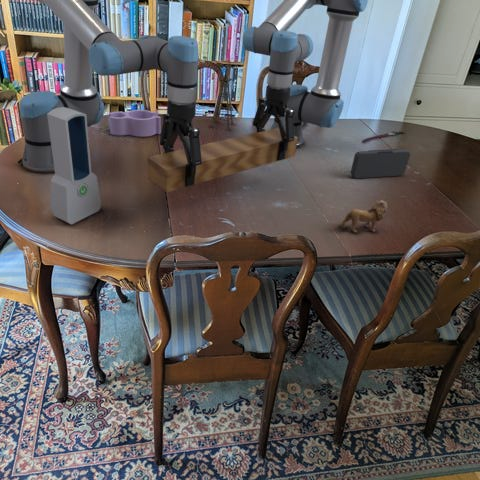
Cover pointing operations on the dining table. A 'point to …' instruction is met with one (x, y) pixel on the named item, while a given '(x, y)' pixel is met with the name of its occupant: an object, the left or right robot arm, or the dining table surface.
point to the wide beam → (218, 159)
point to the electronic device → (71, 167)
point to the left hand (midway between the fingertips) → (179, 177)
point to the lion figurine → (366, 215)
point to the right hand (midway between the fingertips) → (269, 153)
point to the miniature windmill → (224, 79)
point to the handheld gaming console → (380, 163)
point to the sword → (382, 136)
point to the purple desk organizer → (135, 123)
